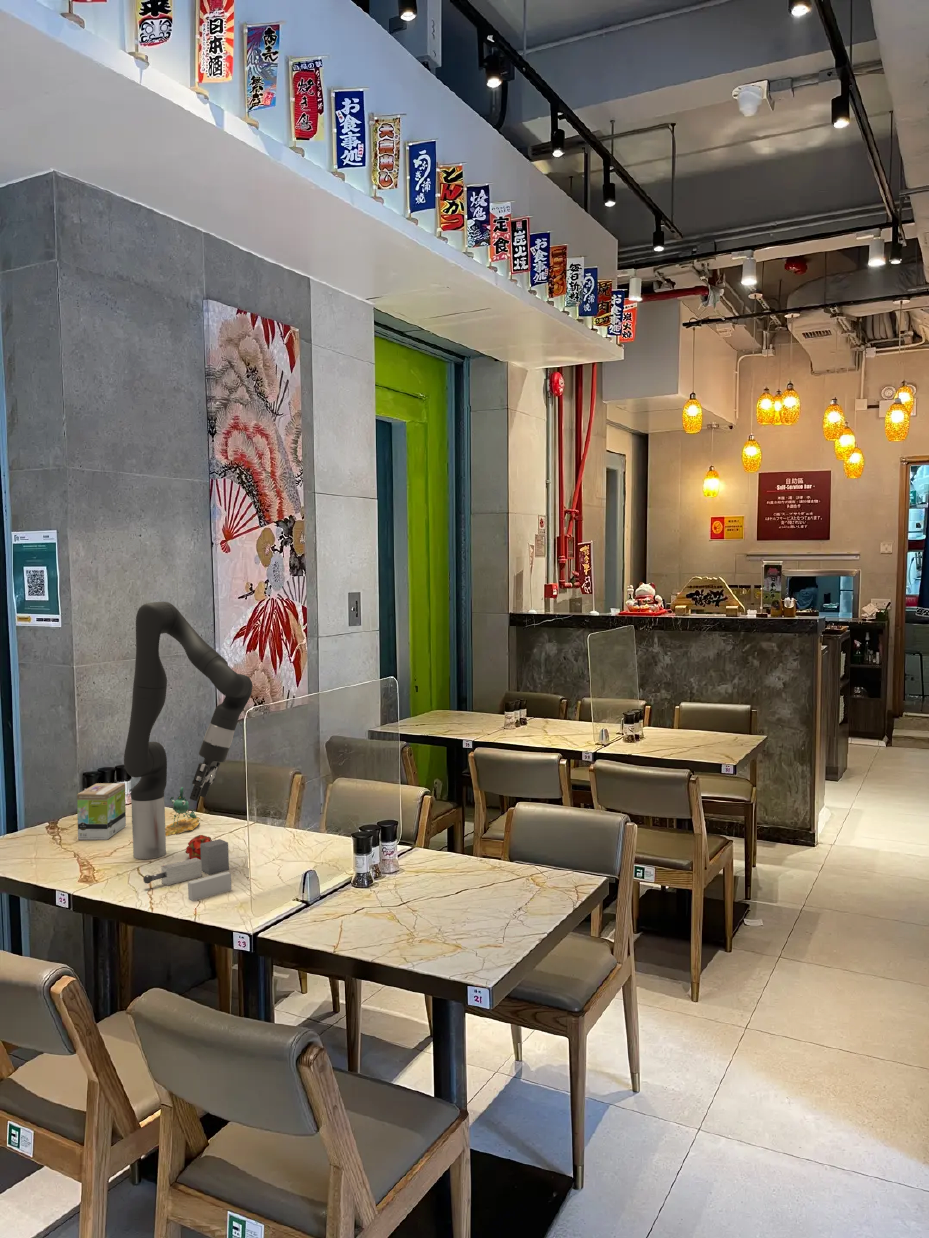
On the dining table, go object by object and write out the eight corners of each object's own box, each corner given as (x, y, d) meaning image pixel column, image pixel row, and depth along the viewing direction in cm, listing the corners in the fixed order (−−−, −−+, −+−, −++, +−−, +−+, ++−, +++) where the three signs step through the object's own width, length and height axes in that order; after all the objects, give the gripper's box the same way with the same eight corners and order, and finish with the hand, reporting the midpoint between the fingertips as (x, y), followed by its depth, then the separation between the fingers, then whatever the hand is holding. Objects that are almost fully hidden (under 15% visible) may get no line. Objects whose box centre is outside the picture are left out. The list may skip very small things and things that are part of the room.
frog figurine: (215, 823, 310) (210, 780, 308) (175, 844, 295) (170, 799, 292) (193, 819, 315) (188, 777, 312) (153, 840, 299) (148, 795, 296)
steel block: (201, 875, 259) (200, 843, 258) (221, 870, 263) (220, 838, 262) (209, 879, 256) (208, 847, 255) (229, 874, 260) (228, 842, 259)
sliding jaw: (141, 888, 246) (140, 871, 246) (196, 873, 256) (196, 857, 256) (146, 890, 244) (145, 873, 243) (201, 876, 254) (201, 860, 254)
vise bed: (153, 884, 252) (152, 863, 252) (191, 874, 260) (190, 854, 259) (192, 905, 236) (191, 883, 236) (231, 894, 244) (230, 873, 243)
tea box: (109, 840, 293) (107, 793, 292) (77, 840, 293) (75, 793, 292) (127, 826, 308) (125, 781, 307) (96, 826, 308) (94, 782, 307)
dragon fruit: (192, 862, 275) (216, 876, 268) (172, 852, 269) (197, 866, 262) (208, 836, 278) (232, 849, 270) (189, 825, 272) (213, 838, 264)
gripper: (211, 736, 269) (192, 791, 268) (197, 739, 255) (177, 796, 254) (235, 745, 269) (217, 799, 268) (223, 748, 255) (203, 805, 254)
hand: (197, 798), depth 261 cm, fingers open, 8 cm apart
